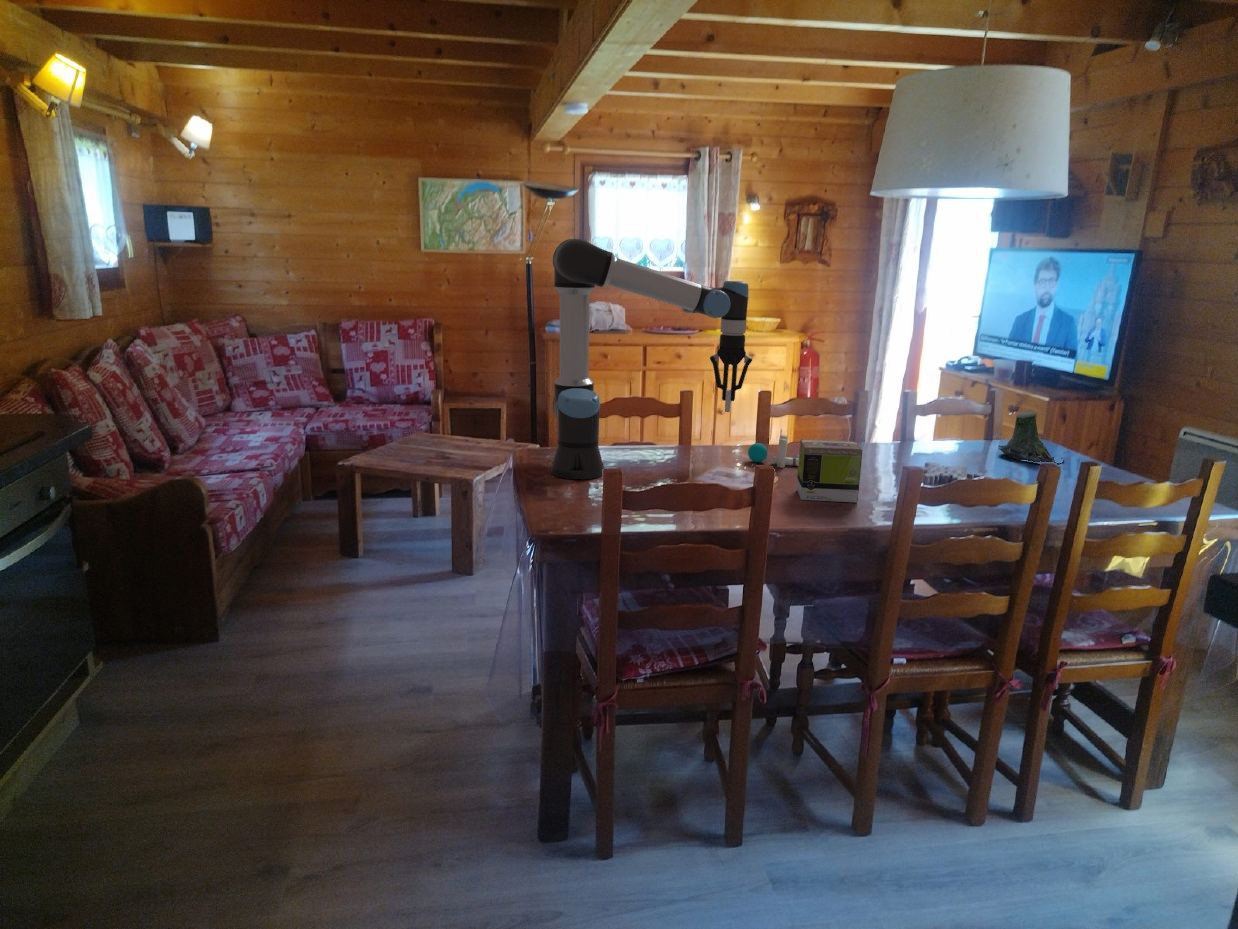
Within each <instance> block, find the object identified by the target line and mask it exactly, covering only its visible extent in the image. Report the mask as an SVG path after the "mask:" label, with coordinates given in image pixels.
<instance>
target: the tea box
mask: <svg viewBox="0 0 1238 929" xmlns="http://www.w3.org/2000/svg"><path fill="white" fill-rule="evenodd" d="M798 458H799V465H798V466H797V467H798V468H797V476H796V478H797V480H796V490H797V492H798V496H799V497H800V500H801V501H802V500H803V501H815V502H816V501H818V502H821V501H822V502H838V503H839V502H842V503H855V504H857V503H858V502H859V493H860V492H859V491H860V484H861V482H860V481H861V469H862V459H863V449H862V448H861V447H860V446H859V445H858V443H857V441H853V440H851V441H848V440H847V441H846V440H825V439H800V441H799V454H798Z"/></svg>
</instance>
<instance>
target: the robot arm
mask: <svg viewBox="0 0 1238 929" xmlns="http://www.w3.org/2000/svg"><path fill="white" fill-rule="evenodd" d="M552 265H553V270H554V272H553V273H554V274H553V276H554V284H553V286H554V289H555V290H556V291H557V292H558V293H559V376H558V377H557V379H555V380H554V384H553V385H554V390H553V392H554V397H553V401H552V408H553V409H552V410H553V412H554V414H555V417H556V418H557V446H556V451H555V454H554V457H553V461H552V462H551V466H550V467H551V468H550V472H551V474H552V475H553V476H555V477H556V478H557V477H558V478H561V479H568V480H577V479H581V480H591V479H592V480H593V479H596V478H600V477H602V476H603V475H602V469H604V470H605V466H604V465H605V464H604V463H603V460H602V459H603V458H602V455H601V452H600V448H599V439H600V438H599V437H600V436H599V435H600V434H599V432H600V409H601V402H600V396H599V395H598V393H597V392H595V390H594V385H595V384H594V383H595V382H594V381H593V379H592V378H590V376H589V375H590V374H589V373H590V372H589V368H590V366H589V365H590V364H589V362H590V359H589V358H590V355H589V354H590V294H591V293H592V292H593V291H594V290H595V288H596V287H600V288H605V287H606V286H610V287H612V288H616V289H620V290H623V291H626V292H629V293H633V294H635V295H639V296H643V297H646V298H648V299H652V300H655V301H659V302H662V303H665V304H668V305H672V306H675V307H677V308H678V307H679V308H682V310H683V311H684V313H689V314H701V315H704V316H707V317H709V318H712V319H719V318H720V335H719V347H718V349H717V353H715V354H714V355H713V354H712V355H711V356H710V357H709V360H710V361H711V363H712V366H713V374H714V377H715V378H714V379H715V383H716V387H717V388H719V389H721V390H722V392H721V393H722V394H721V400H722V401H725V402H724V413H730V412H731V409H732V402H734V401H735V400H736V391H737V390H741V389H742V387H743V385H744V384H743V383H744V380H745V378H746V374H747V371H748V368H749V366H750V365H751V363H752V361H753V358H752V357H750V356H748V355H747V353H746V349H745V346H746V345H745V344H746V335H745V334H746V331H747V316H748V314H747V313H748V306H749V305H748V303H749V298H750V297H749V283H748V282H746V281H742V280H741V281H740V280H725V281H723V285H722V287H711V286H710V287H709V286H706V285H702V284H700V283H697V282H693V281H690V280H686V279H684V278H680V277H677V276H674V275H672V274H668V273H665V272H661V271H658V270H655V269H652V268H649V267H646V266H643V265H640V264H636V263H634V262H630V261H628V260H624V259H621V258H618V257H616V256H615V254H614V252H611V251H608V250H606V249H603V248H601V247H599V246H597V245H595V244H593V243H591V242H589V241H587V240H584V239H582V238H581V239H580V238H569V239H565V240H564V241H562V242H561V243H559V244H558V245H557V247H556V249H555V250H554V252H553V255H552ZM719 359H720V360H721V363H723V376H722V378H721V374H720V368H719V363H718V361H719ZM743 359H744V360H743ZM742 361H743V363H744V365H743V368H742V371H741V375H740V377H739V379H738V383H737V374H738V365H739V364H740V363H741V362H742ZM730 365H731V367H732V371H731V383H730V384H731V385H730V386H731V387H730V389H728V383H729V381H728V380H729V368H730ZM721 379H722V380H721Z"/></svg>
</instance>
